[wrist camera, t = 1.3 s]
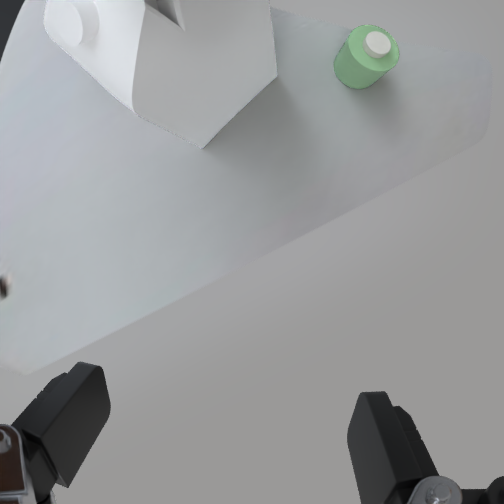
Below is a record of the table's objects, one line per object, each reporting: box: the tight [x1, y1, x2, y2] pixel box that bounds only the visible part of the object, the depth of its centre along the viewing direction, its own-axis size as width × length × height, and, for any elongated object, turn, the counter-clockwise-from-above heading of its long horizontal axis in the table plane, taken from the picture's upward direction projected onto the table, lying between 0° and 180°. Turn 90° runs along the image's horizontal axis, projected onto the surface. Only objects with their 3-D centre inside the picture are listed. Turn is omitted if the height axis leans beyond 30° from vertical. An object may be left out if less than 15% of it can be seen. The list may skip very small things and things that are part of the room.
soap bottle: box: [334, 25, 399, 89], centre depth 26 cm, size 5×5×8 cm
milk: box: [43, 0, 278, 149], centre depth 19 cm, size 12×12×26 cm
